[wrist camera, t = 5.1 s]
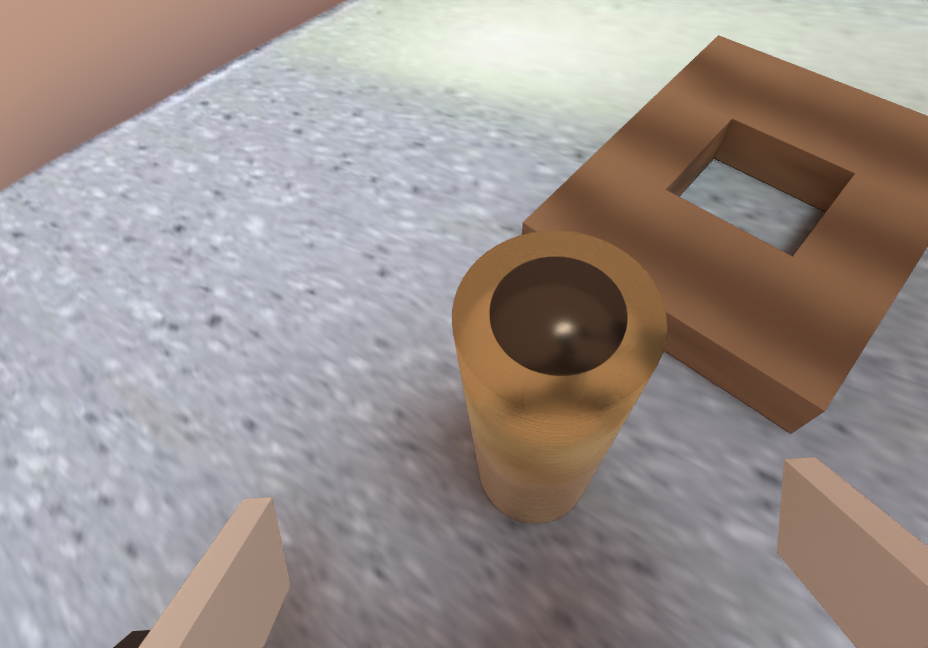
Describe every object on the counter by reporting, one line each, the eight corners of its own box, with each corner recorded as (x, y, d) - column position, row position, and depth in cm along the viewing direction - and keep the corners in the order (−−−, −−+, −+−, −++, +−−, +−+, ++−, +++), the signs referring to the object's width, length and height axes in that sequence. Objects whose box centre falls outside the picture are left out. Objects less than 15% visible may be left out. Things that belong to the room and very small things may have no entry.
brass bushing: (524, 395, 26) (539, 198, 14) (609, 461, 25) (710, 299, 12) (457, 471, 25) (407, 323, 13) (542, 548, 23) (581, 461, 11)
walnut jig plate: (703, 76, 37) (718, 35, 34) (952, 181, 31) (993, 141, 28) (521, 256, 31) (522, 222, 28) (791, 433, 25) (824, 411, 22)
